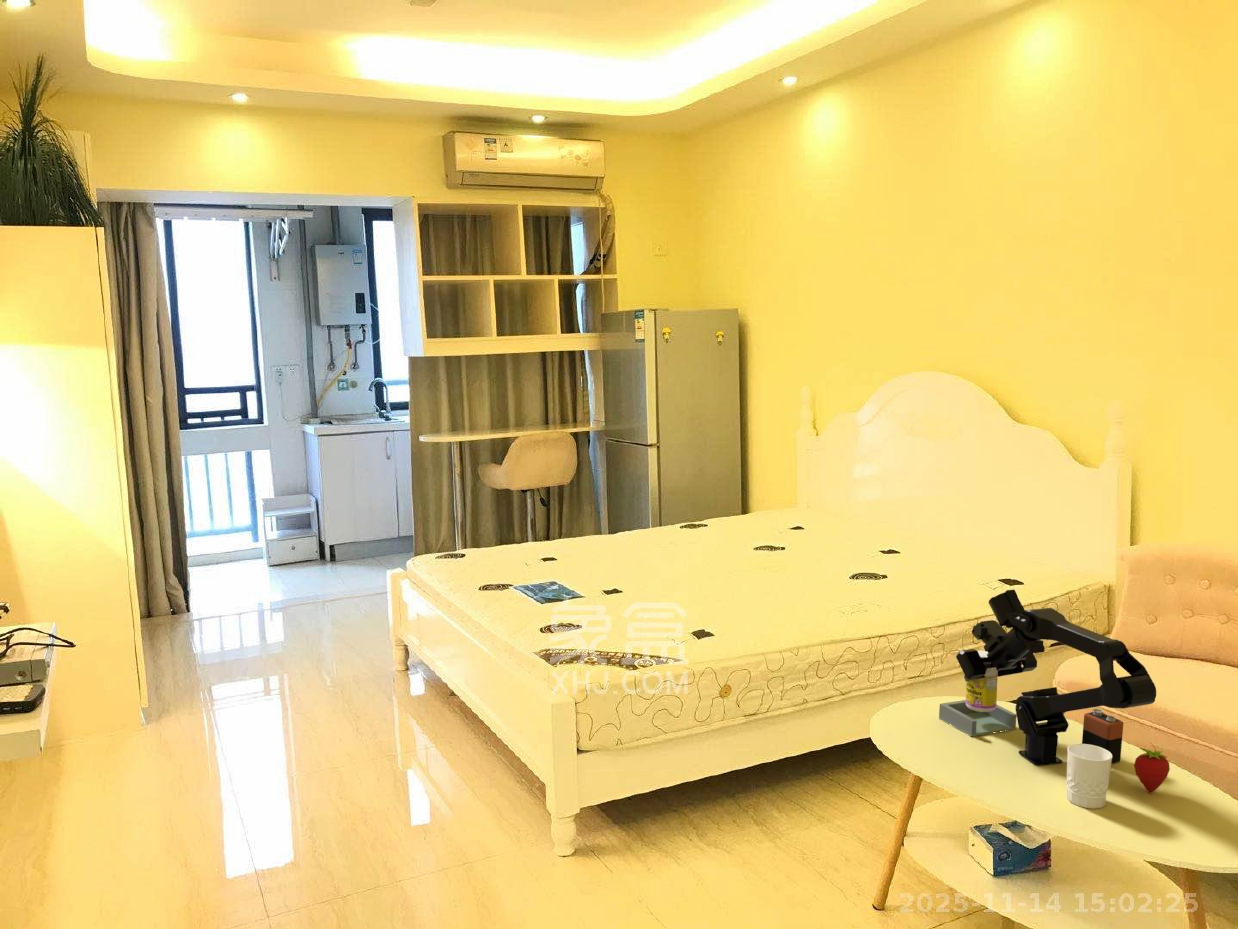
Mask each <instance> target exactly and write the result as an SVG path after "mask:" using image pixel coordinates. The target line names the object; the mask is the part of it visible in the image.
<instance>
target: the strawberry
mask: <svg viewBox="0 0 1238 929" xmlns="http://www.w3.org/2000/svg"><path fill="white" fill-rule="evenodd" d="M1150 745H1152V747H1154V751H1152V750H1151V749H1146V748H1143V747H1140V750H1142V751H1143V752H1145V753H1142V754H1139V755H1138V756H1137V757H1136V758H1135V759H1134V763H1133V766H1134V771H1135V774H1136V776H1137V778H1138V780H1139V782H1140V783H1141V784H1142V786H1143V787H1144V788H1145V790H1146V791H1147V792H1148V793H1150V794H1152V793H1154V792H1155V791H1156V790H1157V789H1158V788H1159V787H1161V785H1162V784H1163V783H1164V781H1165V780H1166V779H1167V777H1168V775H1169V772H1170V770H1171V769H1170V762H1169V761H1168V759H1167V758H1168V756H1166V755H1164V754H1162V753H1163V752H1164V751H1162V750H1161V751H1160V750H1157V748H1156V747H1155V745H1153V743H1152V742H1150Z"/></svg>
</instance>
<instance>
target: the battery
mask: <svg viewBox="0 0 1238 929" xmlns="http://www.w3.org/2000/svg"><path fill="white" fill-rule="evenodd" d="M1091 711H1092V712H1091ZM1091 711H1090V712H1086V713H1084V715H1083V725H1082V726H1083V727H1082V738H1081V739H1082V740H1081V744H1089V745H1094V746H1098V747H1101V748H1104V749H1106V750H1108V751H1109V752H1110V753H1111V754H1112V763H1111V765H1113V764H1116V763H1117V764H1118V763H1119V762H1121V757H1122V744H1123V736H1124V735H1123V734H1124V722H1123V721H1122V720H1121V719H1118V718H1116V717H1115V716H1114V715H1108V714H1106V713H1104V711H1103V710H1102V709H1099V708H1094V709H1093V708H1092V709H1091Z"/></svg>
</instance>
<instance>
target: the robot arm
mask: <svg viewBox="0 0 1238 929" xmlns="http://www.w3.org/2000/svg"><path fill="white" fill-rule="evenodd" d="M988 605H989V607H990V608H991V610H992V612H993V614H994V616H995V618H996V620H997V621H996V620H993V619H990V620H982V621H980V622H977V623H976V624H975V625H973V626H972V630H971V634H972V635H973V636H974V638H975V639H976V640H977V641H979V640H981V641H982V642H983V644H984V645H983V647H982V648H983V649H984V651H987V652H988V654H987V658H981V657H980V655H979V653H978V651H979V650H976V649H974V648H971V649H963V650H959V652H958V653H957V654H956V656H955V658H956V660H957V662H958V664H959V667H960V668H961V670H962V672H963V675H964V676H963V677H964V678H963V679H964V680H965V682H967V681H972V680H976V679H982V678H985V676H984V675H985V674H986V671H987V669H991V668H996V669H997V671H998V677H1004V676H1010V675H1015V674H1016V675H1017V674H1022V673H1024V672H1025V673H1026V672H1032V671H1034V670H1035V669H1036V668H1037V667H1038V660H1037V658H1036V656H1035V655H1034V654H1039V653H1045V650H1046V648H1045V645H1044V640H1047V641H1048V640H1049V641H1054V642H1058V643H1060V644H1062V645H1065V646H1067V647H1069V648H1072V649H1074V650H1077V651H1079V652H1082V653H1084V654H1087V655H1088V656H1091V657H1094V658H1095V659H1096V662H1098V666H1099V668H1098V669H1099V680H1100V682H1101V684H1100V685H1099V686H1098V687H1093V688H1092V687H1091V688H1088V689H1081V690H1076V691H1071V692H1066V693H1058V687H1057V686H1055V687H1048V688H1046V687H1045V688H1040V689H1034V690H1030V691H1024V692H1023V691H1021V695H1020V696H1018V697H1017V698H1016V704H1015V714H1016V715H1017V716H1016V721H1017V725H1018V730H1020V731H1022V733H1023V734H1024V735H1025V742H1024V750H1022V749H1021V750H1018V754H1019V755H1020V756H1022V757H1023V758H1025V759H1026V760H1028V761H1029V762H1030V763H1032V764H1033V765H1035V766H1043V765H1044V766H1045V765H1055V764H1056V765H1057V764H1063V762H1064V761H1063V759H1061V758H1059V756H1057V754H1058V752H1057V751H1058V742H1059V741H1058V740H1059V735H1058V733H1059V734H1060V733H1066V732H1067V730H1068V728H1069V725H1070V724H1069V722H1068V721H1067V720H1068V719H1067V718H1066V717H1065V713H1067V712H1073V711H1079V710H1085V709H1090V708H1092V709H1093V708H1097V707H1107V708H1110V709H1120V710H1121V709H1128V708H1135V707H1140V706H1147V705H1151V704H1154V703H1155V701H1156V697H1157V688H1156V684H1155V683H1154V681H1153V679H1152V678H1151V676H1150V674H1149V672H1148V671H1147V668H1146V667H1145V666H1144V665H1143V664H1142V663H1141V662H1140V661H1139V660H1138V659H1137V658H1136V657H1134V656H1133V655H1132V654H1131V653H1130V651H1129V649H1128V647H1127V645H1126V644H1125V643H1124V642H1123V641H1121V640H1118V639H1114V638H1110V637H1108V636H1106V635H1103V634H1100V633H1098V632H1095V631H1093V630H1089V629H1087V628H1085V627H1082V626H1079V625H1076V624H1074V623H1072V622H1070V621H1069V620H1067V618H1066V617H1065V616H1064V615H1063V614H1062V613H1061V612H1059V611H1057V610H1056V609H1054V608H1051V607H1044V608H1043V607H1041V608H1035V609H1034V608H1033V609H1026V610H1025V608H1024V606H1023V604H1022V602H1021V601H1020V599H1019V597H1018V594H1017V592H1016V589H1007V590H1006V591H1004V592H1002V593H999V594H997V595H995V596H992V597H991V598H989V600H988ZM1004 627H1006V629H1010V630H1008V631H1006V630H1005V629H1004ZM1114 662H1116V663H1117V664H1118V665H1119V666H1120V667H1121V668H1122V669H1123V670H1125V671H1126V672H1127V674H1129V675H1127V676H1119V677H1118V676H1117V674H1116V673H1115V669H1114V666H1115V665H1114ZM998 677H997V678H998ZM1039 722H1040V723H1039Z"/></svg>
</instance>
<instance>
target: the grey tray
mask: <svg viewBox="0 0 1238 929" xmlns="http://www.w3.org/2000/svg"><path fill="white" fill-rule="evenodd" d="M938 711H939V712H938V719H939V720H940V721H942V720H943V722H945V723H946V724H948V725H949V724H951V725H952V726H951V725H950V726H951V727H953V726H954V727H953V728H955V729H956V728H957V729H956V730H958V729H959V731H960V730H962V731H963V732H962V731H961V732H962V733H964V734H965V733H966V734H965V735H967V734H968V735H967V736H969V737H971V736H974V737H978V736H977V735H980V736H984V735H983V734H986V735H990V734H989V733H992V734H994V733H993V732H998V733H1001V732H1000V731H1004V732H1008V731H1007V730H1010V731H1015V730H1016V726H1017V715H1016V712H1013V711H1010V710H1008V709H1006V708H1005V707H1003V706H1001V705H999V704H997V703H996V709H995V710H993V711H991V712H978V711H974V710H971V709H969V708H968V707H967V706H966V699H964V700H963V699H961V700H957V701H951V702H948V701H947V702H942V703H939V709H938ZM1005 730H1006V731H1005Z"/></svg>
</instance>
